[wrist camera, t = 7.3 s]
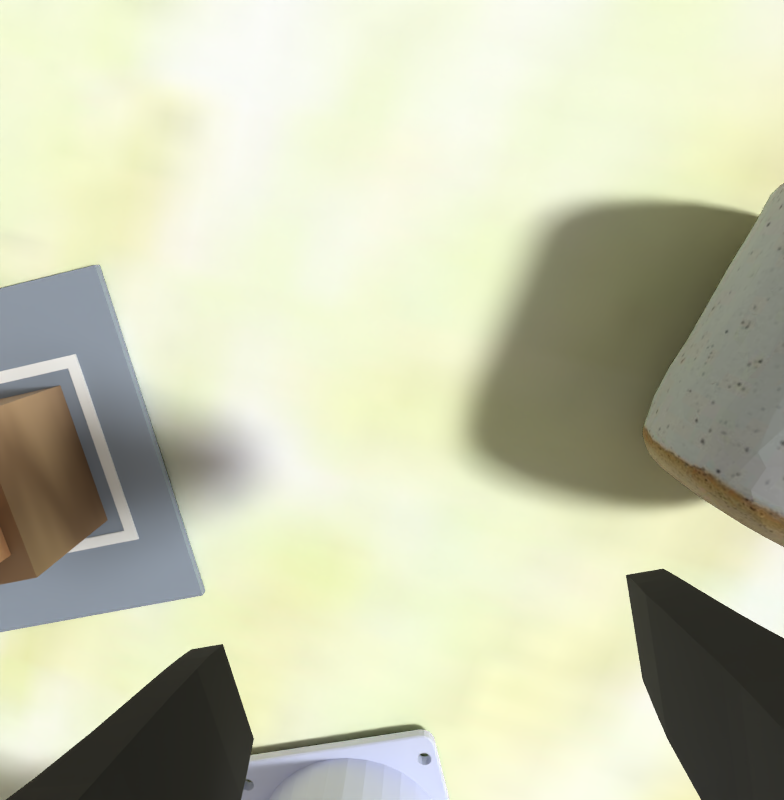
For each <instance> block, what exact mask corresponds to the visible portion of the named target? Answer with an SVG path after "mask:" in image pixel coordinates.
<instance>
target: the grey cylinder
mask: <svg viewBox="0 0 784 800" xmlns="http://www.w3.org/2000/svg"><path fill="white" fill-rule="evenodd" d="M643 438H644V441H645V445H646V448H647V450H648V452H649V454H650V455H651V457H652V458H653V459H654V460H655V461H656V462H657V463H658V464H659V465H660V466H661V467H662V468H663V469H664V470H665V471H666V472H668V473H669V474H670V475H671V476H672V477H674V478H675V479H676V480H678V481H679V482H680V483H682V484H683V485H684V486H686V487H687V488H688V489H690V490H691V491H692V492H694V493H695V494H696V495H698V496H699V497H701V498H702V499H704V500H705V501H707V502H708V503H710V504H712V505H713V506H715V507H716V508H718V509H719V510H721V511H723V512H724V513H726V514H727V515H729V516H730V517H732V518H734V519H735V520H737V521H738V522H740V523H741V524H743V525H745V526H747V527H748V528H750V529H752V530H754V531H755V532H757V533H759V534H761V535H762V536H764V537H766V538H768V539H770V540H772V541H774V542H775V543H777V544H779V545H781V546H783V547H784V183H783V184H782V185H781V186H779V187H778V188H777V189H776V190H775V191H774V192H773V193H772V194H771V195H770V197H769V199H768V201H767V203H766V204H765V206H764V208H763V210H762V212H761V214H760V215H759V217H758V219H757V221H756V223H755V224H754V226H753V228H752V229H751V231H750V233H749V234H748V236H747V238H746V239H745V241H744V242H743V244H742V246H741V247H740V249H739V251H738V252H737V254H736V256H735V257H734V259H733V261H732V262H731V264H730V266H729V267H728V269H727V271H726V272H725V274H724V276H723V278H722V279H721V281H720V283H719V285H718V287H717V288H716V290H715V292H714V294H713V295H712V297H711V299H710V301H709V302H708V304H707V306H706V308H705V309H704V311H703V313H702V315H701V316H700V318H699V320H698V322H697V323H696V325H695V327H694V329H693V330H692V332H691V334H690V336H689V337H688V339H687V341H686V342H685V344H684V345H683V347H682V348H681V350H680V352H679V353H678V355H677V356H676V358H675V359H674V361H673V362H672V364H671V365H670V367H669V369H668V371H667V372H666V374H665V376H664V378H663V380H662V382H661V384H660V386H659V388H658V389H657V391H656V393H655V395H654V398H653V401H652V404H651V407H650V409H649V412H648V415H647V418H646V421H645V423H644V426H643Z"/></svg>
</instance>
